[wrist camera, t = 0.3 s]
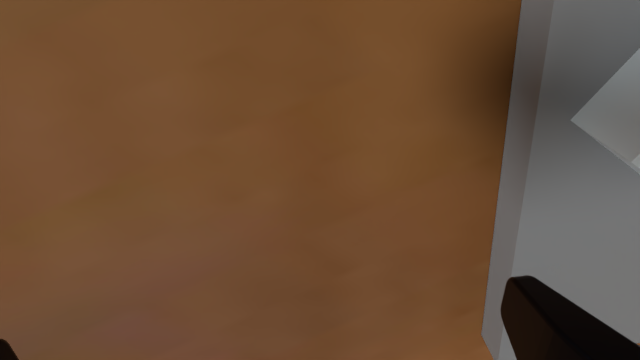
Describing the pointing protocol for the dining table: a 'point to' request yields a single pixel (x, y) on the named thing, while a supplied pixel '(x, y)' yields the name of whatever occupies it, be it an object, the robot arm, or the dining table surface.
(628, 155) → the base block
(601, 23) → the board
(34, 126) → the dining table surface
